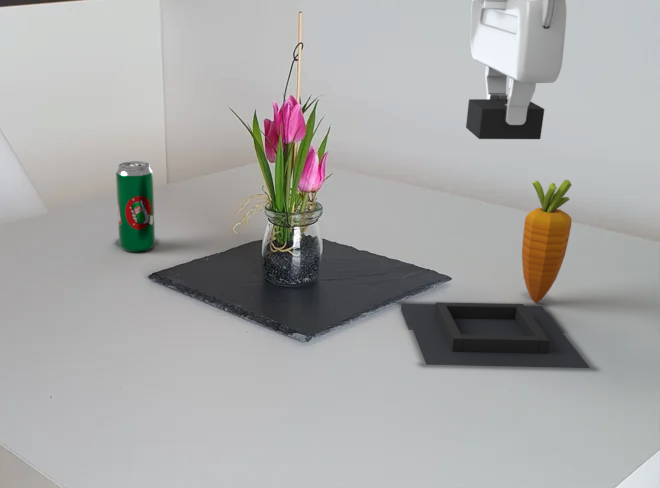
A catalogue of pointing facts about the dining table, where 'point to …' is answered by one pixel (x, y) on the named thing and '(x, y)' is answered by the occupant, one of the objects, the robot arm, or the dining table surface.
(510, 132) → the black block
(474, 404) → the dining table surface
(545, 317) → the socket mat
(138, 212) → the soda can
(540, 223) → the carrot
